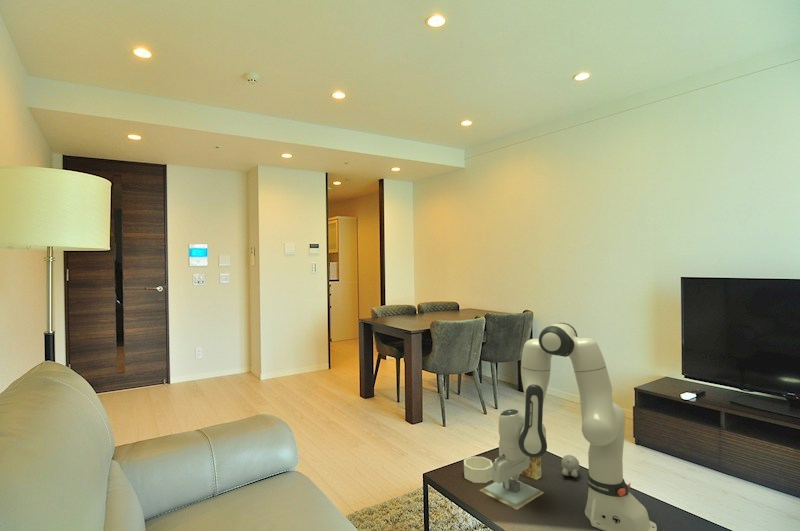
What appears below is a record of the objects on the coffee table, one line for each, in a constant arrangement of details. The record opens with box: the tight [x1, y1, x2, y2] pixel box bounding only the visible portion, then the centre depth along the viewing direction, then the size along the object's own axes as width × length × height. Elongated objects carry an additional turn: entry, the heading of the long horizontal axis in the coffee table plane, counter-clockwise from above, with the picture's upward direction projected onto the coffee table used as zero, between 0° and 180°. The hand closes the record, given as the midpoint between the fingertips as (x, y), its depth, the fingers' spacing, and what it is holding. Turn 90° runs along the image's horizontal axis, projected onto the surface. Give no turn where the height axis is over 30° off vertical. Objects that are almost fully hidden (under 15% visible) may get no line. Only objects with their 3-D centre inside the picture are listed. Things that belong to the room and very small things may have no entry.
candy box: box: [519, 456, 542, 481], centre depth 181 cm, size 9×4×15 cm, turn 44°
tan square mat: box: [478, 481, 545, 510], centre depth 168 cm, size 18×18×1 cm
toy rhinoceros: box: [561, 454, 580, 478], centre depth 182 cm, size 7×12×8 cm, turn 152°
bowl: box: [463, 456, 493, 484], centre depth 181 cm, size 12×12×6 cm
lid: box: [483, 477, 540, 506], centre depth 168 cm, size 15×15×4 cm
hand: (511, 486), depth 168 cm, fingers closed on lid, 3 cm apart
